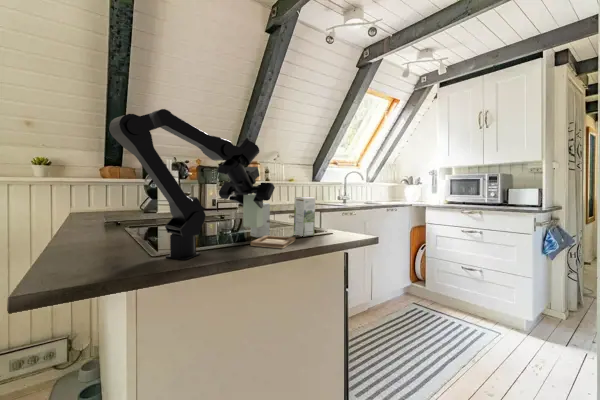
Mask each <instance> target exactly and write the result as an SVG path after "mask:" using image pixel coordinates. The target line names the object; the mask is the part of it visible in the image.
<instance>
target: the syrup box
mask: <svg viewBox="0 0 600 400" xmlns="http://www.w3.org/2000/svg"><path fill="white" fill-rule="evenodd" d="M293 204H294V206H293V207H294V209H293V210H294V212H293V235H294V234H295V235H294V236H297V235H300V236H299V237H302V236H303V237H302V238H304V237H311V236H315V228H316V227H315V226H316V224H315V223H316V217H315V216H316V197H312V196H299V197H297V196H295V197H294V203H293Z"/></svg>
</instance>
